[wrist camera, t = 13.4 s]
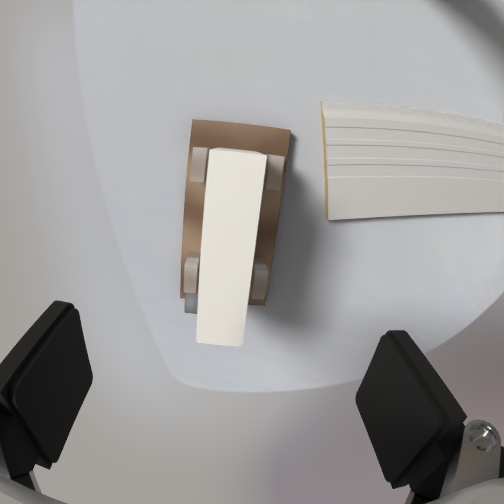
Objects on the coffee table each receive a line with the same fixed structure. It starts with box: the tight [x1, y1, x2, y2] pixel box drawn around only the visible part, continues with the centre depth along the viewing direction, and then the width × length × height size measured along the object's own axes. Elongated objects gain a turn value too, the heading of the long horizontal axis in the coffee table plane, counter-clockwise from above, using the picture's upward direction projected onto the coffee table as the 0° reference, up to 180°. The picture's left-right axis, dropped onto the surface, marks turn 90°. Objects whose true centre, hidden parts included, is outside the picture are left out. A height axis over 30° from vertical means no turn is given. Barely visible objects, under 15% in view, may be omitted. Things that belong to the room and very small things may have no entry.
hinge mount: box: [180, 119, 291, 306], centre depth 25 cm, size 16×8×4 cm, turn 173°
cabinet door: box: [185, 148, 267, 346], centre depth 21 cm, size 12×4×9 cm, turn 173°
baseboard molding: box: [321, 101, 504, 220], centre depth 25 cm, size 31×3×12 cm
